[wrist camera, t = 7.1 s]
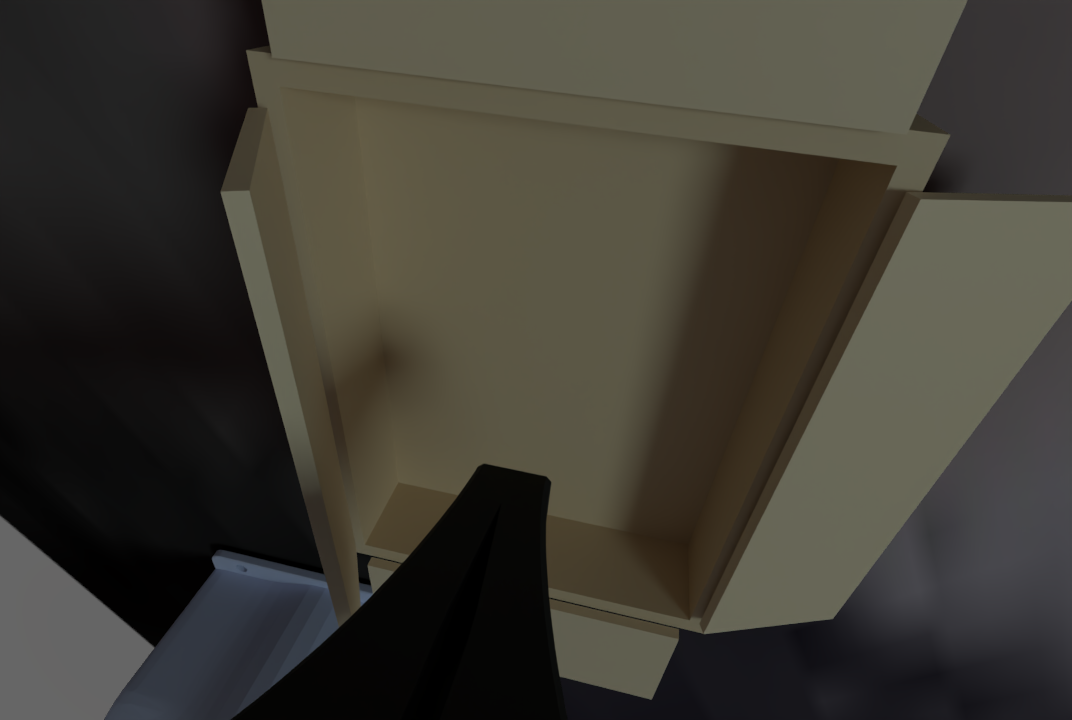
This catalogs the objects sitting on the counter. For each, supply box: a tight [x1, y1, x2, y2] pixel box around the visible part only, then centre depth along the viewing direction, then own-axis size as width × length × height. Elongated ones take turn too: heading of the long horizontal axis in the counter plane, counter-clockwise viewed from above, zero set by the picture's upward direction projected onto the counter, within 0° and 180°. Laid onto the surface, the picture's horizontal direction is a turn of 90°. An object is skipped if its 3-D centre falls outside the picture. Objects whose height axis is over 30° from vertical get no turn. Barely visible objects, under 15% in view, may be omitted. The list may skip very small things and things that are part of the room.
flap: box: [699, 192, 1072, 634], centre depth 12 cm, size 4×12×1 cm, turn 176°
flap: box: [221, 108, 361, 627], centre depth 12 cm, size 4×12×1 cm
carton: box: [246, 0, 967, 699], centre depth 14 cm, size 11×22×3 cm, turn 176°
